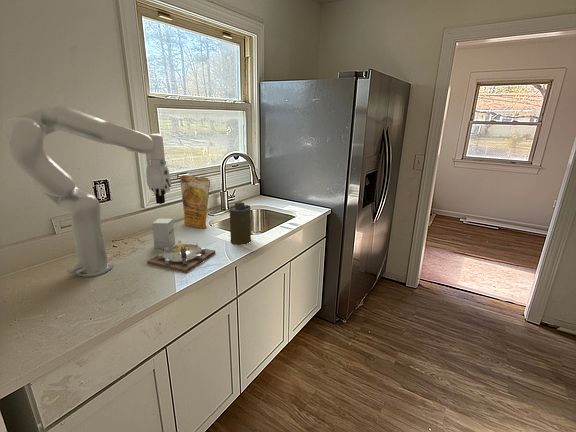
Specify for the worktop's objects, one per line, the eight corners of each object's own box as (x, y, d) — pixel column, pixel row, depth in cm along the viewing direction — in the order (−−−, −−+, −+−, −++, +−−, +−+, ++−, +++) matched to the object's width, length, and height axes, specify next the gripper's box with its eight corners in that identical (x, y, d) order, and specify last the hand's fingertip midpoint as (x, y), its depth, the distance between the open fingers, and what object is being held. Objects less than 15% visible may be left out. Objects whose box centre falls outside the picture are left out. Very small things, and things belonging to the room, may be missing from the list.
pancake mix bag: (188, 221, 181) (184, 174, 173) (213, 226, 173) (210, 177, 165) (179, 224, 175) (175, 175, 167) (205, 229, 167) (202, 179, 159)
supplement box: (170, 249, 143) (167, 223, 139) (154, 248, 143) (151, 223, 139) (175, 242, 150) (173, 218, 146) (160, 242, 150) (158, 218, 146)
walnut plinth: (186, 273, 121) (185, 265, 120) (147, 263, 128) (146, 256, 127) (215, 253, 139) (215, 246, 138) (179, 246, 146) (179, 239, 144)
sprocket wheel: (209, 260, 128) (208, 247, 126) (159, 268, 121) (158, 254, 119) (201, 243, 145) (200, 231, 143) (157, 249, 137) (156, 237, 135)
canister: (239, 246, 146) (238, 206, 140) (226, 241, 153) (224, 202, 147) (256, 240, 154) (255, 202, 148) (243, 235, 161) (242, 198, 155)
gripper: (176, 162, 135) (179, 203, 140) (149, 160, 140) (154, 199, 146) (163, 165, 128) (168, 207, 134) (136, 162, 133) (141, 203, 139)
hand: (160, 203), depth 140 cm, fingers closed
